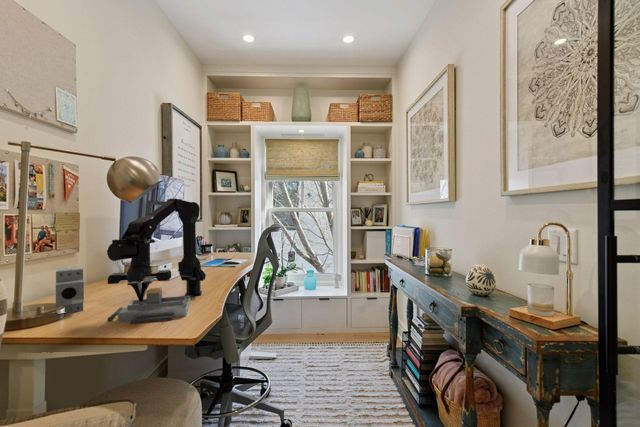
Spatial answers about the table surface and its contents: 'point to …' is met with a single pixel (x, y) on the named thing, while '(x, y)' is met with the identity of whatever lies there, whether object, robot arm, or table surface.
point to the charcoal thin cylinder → (150, 319)
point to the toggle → (154, 295)
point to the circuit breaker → (70, 288)
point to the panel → (155, 308)
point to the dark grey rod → (114, 314)
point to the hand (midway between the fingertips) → (141, 301)
